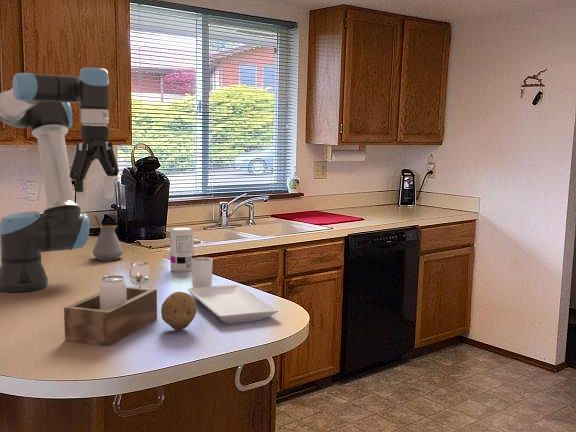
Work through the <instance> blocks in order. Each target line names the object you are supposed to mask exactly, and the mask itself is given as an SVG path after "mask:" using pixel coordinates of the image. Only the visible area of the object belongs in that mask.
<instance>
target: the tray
mask: <svg viewBox="0 0 576 432" xmlns="http://www.w3.org/2000/svg"><path fill="white" fill-rule="evenodd" d="M187 291H188V292H189V293H190V294H191V295H192V297H193V298H195V299H197V300H198V301H199V302H200V303H201V304H202V305H203V306H204V307H205V308H207V309H208V310H209V311H210V312H211V313H212V314H213V315H215V316H216V317H217V318H218V319H219V320H221V321H222V322H224V323H225V324H235V323H242V322H244V323H245V322H253V321H261V320H264V319H265V318H269V317H271V316H273V315H275V314H277V313H278V312H279V310H278V309H277V308H275V307H274V306H273V305H270V304H269V303H267V302H266V301H265V300H263V299H261V298H260V297H258V296H257V295H256V294H254V293H253V292H251V291H250V290H248V289H247V288H245V287H244V286H243V285H239V284H232V285H216V286H213V285H212V286H211V287H199V288H193V287H189V288H187Z"/></svg>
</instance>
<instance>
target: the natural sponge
mask: <svg viewBox="0 0 576 432" xmlns="http://www.w3.org/2000/svg"><path fill="white" fill-rule="evenodd" d="M197 308H198V306H197V303H196V300H195V299H194V297H193V296H191V295H190V294H189V293H187V292H183V291H175V292H172V293H170V294H169V295H168V296H167V297H166V299H165V300H164V301H163V303H162V304H161V309H160V310H161V311H160V312H161V313H160V314H161V319H162V320H163V322H164V323H165V324H166V325H168V326H170V328H172V329H174V330H176V331H177V332H179V331H183V330H185V329H186V328H187V327H188V326H189V325H191V323H192V322H193V321H194V319H195V317H196V314H197Z"/></svg>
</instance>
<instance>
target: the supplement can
mask: <svg viewBox="0 0 576 432" xmlns="http://www.w3.org/2000/svg"><path fill="white" fill-rule="evenodd" d="M169 236H170V237H169V239H170V242H169V244H170V247H169V248H170V249H169V250H170V269H171V270H172V272H176V273H185V272H186V273H187V272H190V271H191V272H192V264H191V259H193V258H195V254H194V253H195V250H194V247H195V246H194V245H195V244H194V241H195V240H194V239H195V238H194V236H195V235H194V231H193V228H191V227H187V226H186V227H184V226H182V227H181V226H179V227H173V228H171V231H170V235H169Z"/></svg>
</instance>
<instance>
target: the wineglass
mask: <svg viewBox="0 0 576 432" xmlns="http://www.w3.org/2000/svg"><path fill="white" fill-rule="evenodd" d="M128 273H129V275H128V277H129V281H130V283H131V284H132V285H135V286H136V287H137V286H138V287H137V288H142V287H143V286H144V285H146V284H148V283H149V282H150V278H151V271H150V267H149V263H148V262H146V261H145V262H143V261H137V262H132V263H131V264H130V268H129V272H128Z"/></svg>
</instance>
